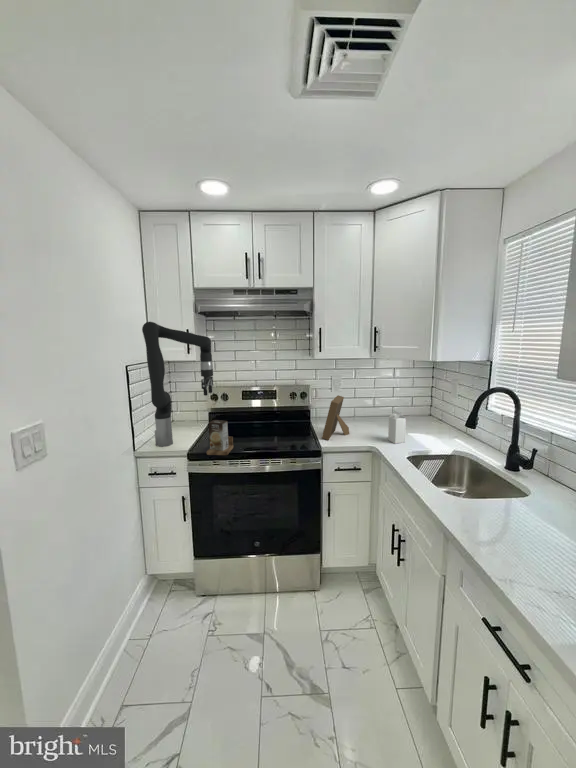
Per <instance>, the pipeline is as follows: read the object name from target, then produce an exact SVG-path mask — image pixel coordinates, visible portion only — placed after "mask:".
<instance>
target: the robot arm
mask: <svg viewBox="0 0 576 768" xmlns="http://www.w3.org/2000/svg"><path fill="white" fill-rule="evenodd" d="M141 332H142V336H143V340H144V342H145V350H146V351H145V353H146V362H147V370H148V376H149V381H150V392H151V394H150V395H151V397H150V399H151V404H152V405H153V406H154V407H155V408H156V409H155V413H154V422H155V430H154V441H155V446H157V445H158V446H157V447H168V446H171V445H173V443H174V441H173V440H174V439H173V427H172V397H171V395H170V393H169V392H168V391H165V388H164V387H165V386H164V380H165V374H166V370H165V369H166V367H165V361H164V356H163V353H162V350H161V347H160V339H161V338H162V339H168V340H171V341H175V342H178V343H182V344H186V345H192V346H196V347H199V349H200V354H199V357H200V359H199V360H200V362H199V363H200V369H199V370H200V377H202V379H201V381H200V382H201V383H200V384H201V389H202V390H203V396H208V395H209V394H212V393H213V386H214V377H213V376H214V364H213V355H212V340H211V339H210V337H209V336H205V335H201V334H195V333H193V332H188V331H184V330H177V329H174V328H173V329H172V328H168V327H165V326H162V325H160V324H158V323H156V322H153V321H147V322H145V323H144V324H143V325H142V328H141ZM159 338H160V339H159Z"/></svg>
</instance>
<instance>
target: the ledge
mask: <svg viewBox="0 0 576 768" xmlns="http://www.w3.org/2000/svg"><path fill="white" fill-rule="evenodd" d="M233 449H234V436H228V448H227V449H225V450H224V451H220V450H212V449H210V447H209V449H207V450H206V455H208V456H228V455H229V453H231V451H232V450H233Z"/></svg>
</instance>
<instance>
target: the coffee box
mask: <svg viewBox="0 0 576 768" xmlns="http://www.w3.org/2000/svg"><path fill="white" fill-rule="evenodd" d="M228 423H229V422H228V420H222V419H221V420H220V419H213V420H211V421H208V432H209V433H208V434H209V448H210V449H212V450H220V451H224V450H225V449H227V448H228V437H229V429H228V428H229V427H228Z"/></svg>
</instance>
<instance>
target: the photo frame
mask: <svg viewBox="0 0 576 768" xmlns="http://www.w3.org/2000/svg"><path fill="white" fill-rule="evenodd" d="M344 399H345V397H344V396H342V395H336V396H335V397H334V398H333V399H332V400H331V401H330V404H329V409H328V413H327V416H326V421H325V424H324V428H323V432H322V436H321V439H323V440H326V441H329V440H330V439H331V437H332V436H333V435H334V434H335V432H336V430H337V426H338V423H339V426H340V428H341V431H342V432H343V435H344V436H348V435H350V429H349V428H350V427H349V426H348V425H347V423H345V421H344V420H343V418H341V416H340V413H341V411H342V407H343V402H344Z"/></svg>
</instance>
